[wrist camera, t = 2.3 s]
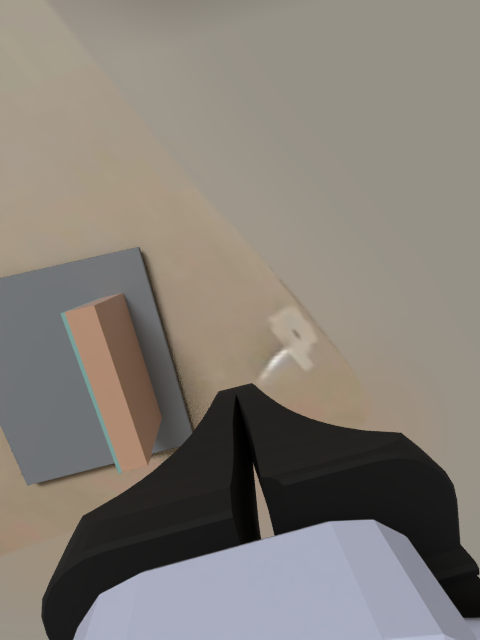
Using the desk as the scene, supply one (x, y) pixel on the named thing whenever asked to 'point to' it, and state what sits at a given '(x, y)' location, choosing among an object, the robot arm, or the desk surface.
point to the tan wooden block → (115, 378)
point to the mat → (74, 365)
